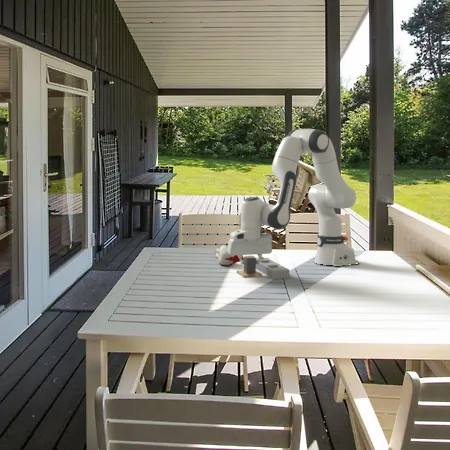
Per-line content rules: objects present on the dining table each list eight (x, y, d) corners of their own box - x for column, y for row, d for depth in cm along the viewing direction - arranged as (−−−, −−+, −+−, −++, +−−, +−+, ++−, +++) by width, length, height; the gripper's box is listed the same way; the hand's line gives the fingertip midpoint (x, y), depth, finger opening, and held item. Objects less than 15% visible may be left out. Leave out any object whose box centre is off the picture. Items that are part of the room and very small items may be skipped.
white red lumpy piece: (213, 260, 269) (243, 265, 268) (210, 265, 258) (241, 270, 257) (216, 243, 268) (246, 247, 267) (213, 247, 257) (244, 252, 256)
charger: (252, 271, 247) (252, 255, 246) (255, 273, 243) (256, 257, 242) (243, 271, 246) (243, 255, 244) (246, 273, 242) (247, 257, 240)
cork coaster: (255, 271, 250) (255, 269, 250) (262, 276, 242) (262, 274, 241) (236, 272, 247) (236, 270, 247) (243, 277, 239) (243, 275, 239)
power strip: (262, 262, 270) (262, 253, 269) (289, 278, 240) (289, 268, 239) (247, 263, 267) (247, 254, 266) (272, 279, 237) (272, 269, 236)
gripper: (269, 231, 248) (268, 261, 250) (226, 233, 241) (226, 263, 244) (274, 234, 242) (273, 264, 244) (231, 235, 235) (230, 266, 238)
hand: (249, 264), depth 244 cm, fingers open, 6 cm apart
